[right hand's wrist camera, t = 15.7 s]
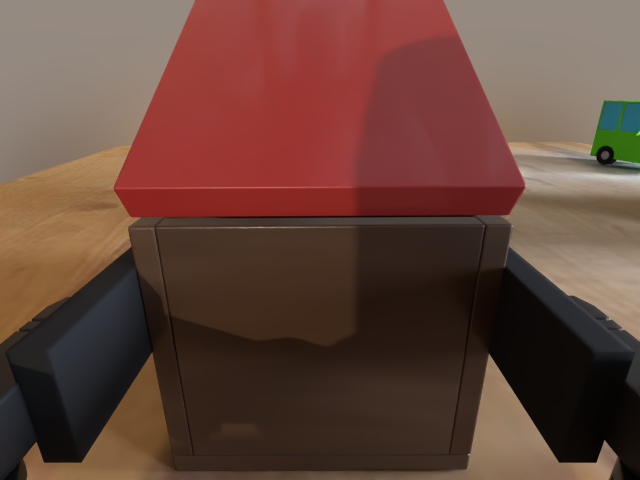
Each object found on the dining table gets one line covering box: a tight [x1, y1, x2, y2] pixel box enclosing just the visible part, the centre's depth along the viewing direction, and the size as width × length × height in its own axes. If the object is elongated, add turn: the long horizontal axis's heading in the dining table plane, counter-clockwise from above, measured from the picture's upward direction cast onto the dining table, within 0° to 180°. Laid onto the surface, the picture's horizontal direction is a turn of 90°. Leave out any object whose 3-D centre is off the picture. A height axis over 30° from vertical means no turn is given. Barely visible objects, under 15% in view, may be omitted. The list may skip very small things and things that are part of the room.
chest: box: [128, 215, 512, 471], centre depth 19 cm, size 16×10×9 cm, turn 0°
